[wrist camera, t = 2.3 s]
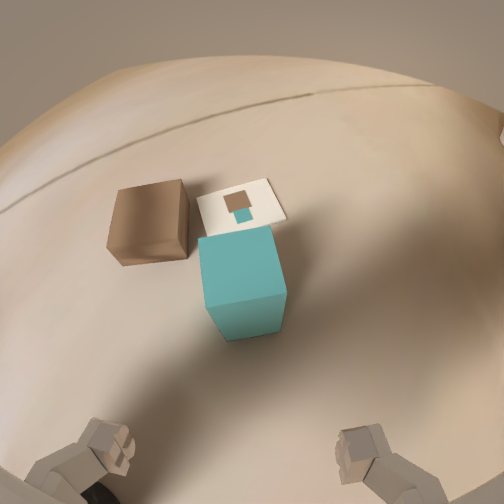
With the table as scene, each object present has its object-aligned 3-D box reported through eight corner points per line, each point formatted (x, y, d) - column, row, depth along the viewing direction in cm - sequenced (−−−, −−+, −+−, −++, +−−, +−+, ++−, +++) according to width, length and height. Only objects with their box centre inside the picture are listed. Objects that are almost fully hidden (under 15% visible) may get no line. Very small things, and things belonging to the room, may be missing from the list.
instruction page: (265, 179, 32) (265, 177, 31) (286, 220, 29) (286, 217, 28) (196, 199, 31) (195, 196, 30) (209, 243, 28) (208, 241, 28)
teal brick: (269, 283, 26) (270, 225, 18) (280, 331, 23) (287, 292, 16) (219, 292, 25) (197, 238, 18) (226, 341, 23) (205, 307, 15)
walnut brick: (189, 203, 31) (181, 179, 27) (188, 260, 27) (177, 238, 24) (131, 212, 31) (118, 190, 27) (123, 267, 27) (106, 247, 24)
